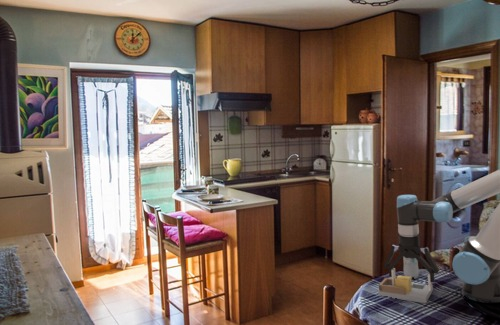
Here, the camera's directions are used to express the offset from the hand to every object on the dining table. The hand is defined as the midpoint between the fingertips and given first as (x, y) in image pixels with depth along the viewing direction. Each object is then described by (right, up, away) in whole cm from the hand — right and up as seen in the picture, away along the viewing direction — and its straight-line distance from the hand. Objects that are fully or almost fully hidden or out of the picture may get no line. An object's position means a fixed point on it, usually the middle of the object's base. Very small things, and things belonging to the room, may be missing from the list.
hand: (411, 287), depth 157 cm
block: (-2, -2, +2) cm, 3 cm away
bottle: (+8, -2, +21) cm, 22 cm away
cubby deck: (-1, -4, +4) cm, 5 cm away
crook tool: (-2, -1, +10) cm, 10 cm away
